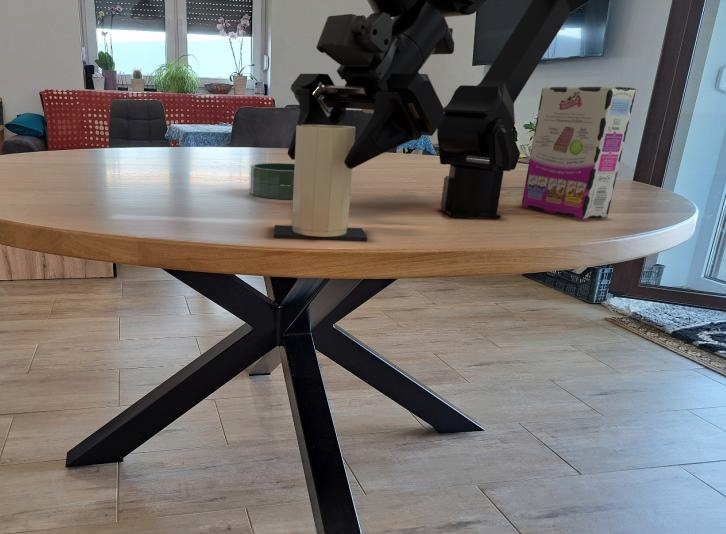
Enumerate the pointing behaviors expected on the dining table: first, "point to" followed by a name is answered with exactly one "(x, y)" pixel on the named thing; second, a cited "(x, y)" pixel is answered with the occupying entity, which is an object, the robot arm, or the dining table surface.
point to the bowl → (273, 180)
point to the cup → (322, 180)
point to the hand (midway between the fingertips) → (317, 161)
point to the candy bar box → (577, 150)
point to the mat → (351, 234)
